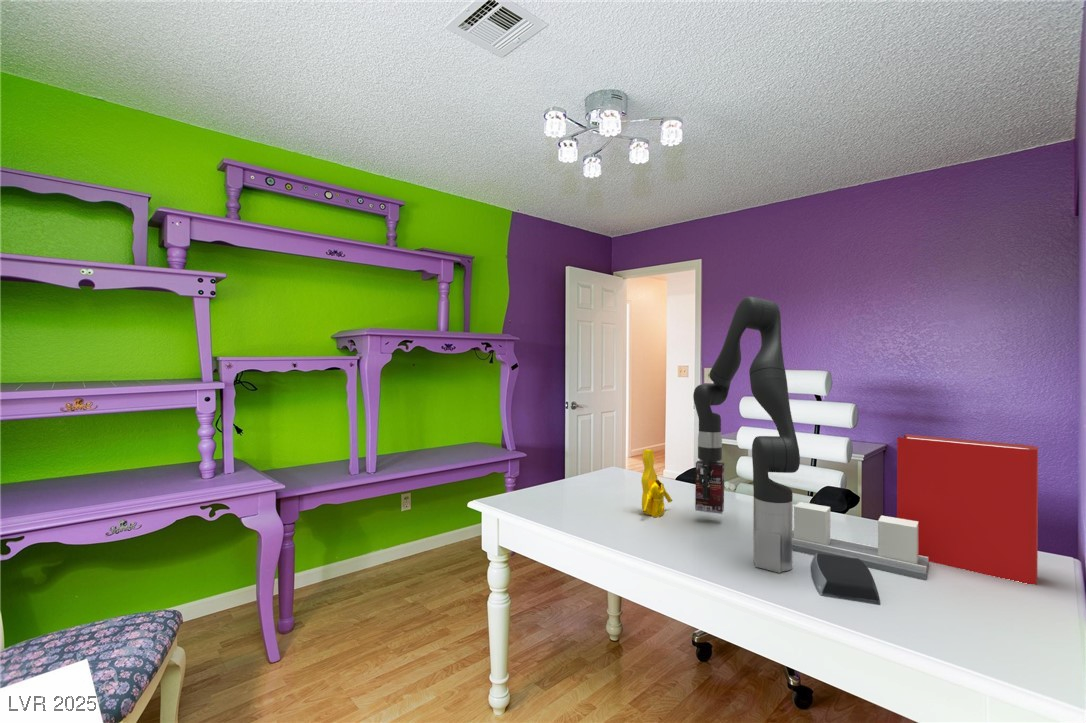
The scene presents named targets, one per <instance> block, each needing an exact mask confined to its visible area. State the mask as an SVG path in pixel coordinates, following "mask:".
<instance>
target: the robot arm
mask: <svg viewBox="0 0 1086 723" xmlns="http://www.w3.org/2000/svg"><path fill="white" fill-rule="evenodd" d="M781 316H782V315H781V310H780V307H779V305H778V304H777V303H776V302H775V301H772V300H768V299H764V298H759V297H756V296H745V297H744V298H742V300H740V302H739V303H738V305H737V307H736V309H735V311H734V314H733V316H732V319H731V323H730V324H729V328H728V331H727V334H726V337H725V339H724V343H723V346H722V348H721V350H720V352H719V355H717V358H716V360H715V362H714V364H713V365H712V368H711V369H710V371H709V374H708V375H709V376H708V377H709V379H710V380H711V381H712V383H709V384H707V383H706V384H705V383H703V384H699V385H697V386H696V387H695V388H694V389H693V390H694V391H693V394H692V395H693V396H692V399H693V403H694V407H695V410H696V415H697V417H698V435H697V459H699V461H703V464H702V468H698V475H699V485H700V486H702V487H703V498H704V499H710V483H711V481H712V479H713V477H712V472H713V470H712V471H711V464H712V463H714V462H720V461H722V460H723V437H722V417H721V415H720V414H719V413H716V412H713V409H712V406H719V405H722V404H724V402H725V401H726V400H727V397H728V395H729V390H730V387H731V382H732V380H733V378H734V376H735V375H736V374H737V372H738V370H739V368H740V366H741V362H742V351H741V350H742V349H741V339H742V336H743V334H744V332H745V331H746V329H751V330H756V331H759V333H760V337H761V338H760V339H761V341H760V342H761V343H760V344H761V346H760V349H759V351H758V353H757V354H756V356H755V357H754V359H753V361H752V362H751V364H750V367H749V371H748V372H749V381H750V382H749V383H750V389H751V393H752V394H751V395H752V396H753V398H755V400H756V401H757V403H758V404H759V405H760V407H761V408H762V409H763V410H764V411H765V413H767V414H768V416H769V417H770V418H771V419H772V421H773V423H774V425H775V427H776V429H777V433H778V435H779V436H778V435H776V436H775V435H774V436H773V435H771V436H770V435H758V436H755V437H754V439H753V441H752V445H751V458H752V480H753V482H752V486H753V517H752V518H753V520H752V521H753V533H752V534H753V536H752V537H753V539H752V540H753V543H752V544H753V555H752V557H753V560H752V561H753V564H754V567H755V568H760V569H762V570H768V571H770V572H775V573H780V574H781V573H782V572H788V571H791V570H792V569H793V550H792V531H793V513H794V506H793V504H794V502H793V501H794V500H793V490H792V489H791V488H790V487H789V486H787V485H785V484H782V483H779V482H776V481H774V480H772V479H771V478H770V477H769V473H779V474H780V473H781V474H782V473H783V474H784V473H785V474H792V473H793V474H794V473H796V472H798V470H799V469H800V465H801V456H800V448H799V447H800V446H799V444H798V439H797V435H796V430H795V427H794V422H793V417H792V411H791V407H790V406H791V405H790V398H789V397H790V396H789V388H788V387H789V386H788V380H787V374H786V367H785V362H784V361H785V360H784V355H783V346H782V345H783V344H782V324H781V323H782V322H781V321H782V320H781ZM707 475H708V476H710V477H707ZM704 480H705V482H704Z"/></svg>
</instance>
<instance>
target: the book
mask: <svg viewBox="0 0 1086 723" xmlns="http://www.w3.org/2000/svg"><path fill="white" fill-rule="evenodd" d="M896 441H897V443H896V445H897V446H896V448H897V449H896V455H897V456H896V457H897V459H896V460H897V461H896V463H897V466H896V467H897V468H896V481H897V483H896V488H897V489H896V518H900V519H906V520H912V521H918V555H920V556H925V557H928V559H929V563H934V564H937V565H943V566H947V567H951V568H955V569H959V568H960V570H963V569H965V570H964V571H968V570H969V571H968V572H972V571H973V573H976V572H977V574H980V573H981V575H986V576H989V575H990V576H989V577H993V576H995V578H998V577H1000V578H999V579H1002V578H1005V579H1004V580H1006V579H1010V580H1009V581H1011V580H1014V581H1013V582H1015V581H1019V582H1022V583H1021V584H1023V583H1027V584H1026V585H1028V584H1036V583H1037V582H1038V562H1039V561H1038V560H1039V559H1038V548H1039V547H1038V544H1039V543H1038V542H1039V538H1038V536H1039V535H1038V534H1039V533H1038V532H1039V531H1038V528H1039V526H1038V525H1039V523H1038V522H1039V521H1038V520H1039V519H1038V518H1039V514H1038V512H1039V511H1038V510H1039V499H1038V498H1039V446H1035V445H1031V444H1030V445H1029V444H1020V443H1019V444H1018V443H1007V442H997V441H984V440H975V439H974V440H973V439H963V438H962V439H961V438H951V437H950V438H949V437H940V436H939V437H938V436H931V435H929V436H928V435H919V434H918V435H917V434H906V433H904V434H903V437H901V436H900V437H899V436H897V439H896ZM1019 582H1018V583H1019ZM1036 585H1037V584H1036Z"/></svg>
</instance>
